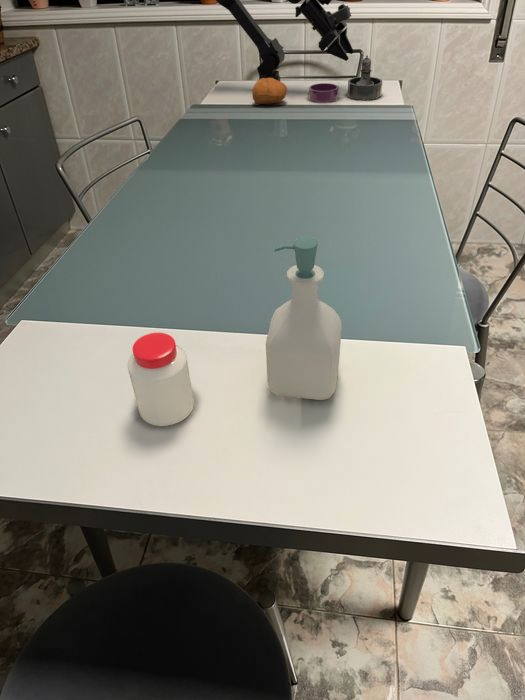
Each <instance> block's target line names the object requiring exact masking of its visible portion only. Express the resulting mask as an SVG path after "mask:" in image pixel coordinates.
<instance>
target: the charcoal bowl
mask: <svg viewBox="0 0 525 700" xmlns="http://www.w3.org/2000/svg"><path fill="white" fill-rule="evenodd" d="M360 79H361V76H355V77H352V78H350V79H348V80H347V90H346V91H347V93H346V94H347V97H349V98H350V99H352V100H357V101H370V100H376V99H378V98H380V97H381V96H382V91H383V80H382V78H379V77H374V76H370V80H371V81H372V82H374V84H373V85H357V84H356V83H357V82H358V81H360Z"/></svg>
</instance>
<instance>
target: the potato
mask: <svg viewBox="0 0 525 700" xmlns="http://www.w3.org/2000/svg"><path fill="white" fill-rule="evenodd" d="M287 94H288V87H287V85H286V84H285V83H284V82H282V81H281V80H280V81H278V80H275V79H273V78H262V79H260V80H259V79H258V80H257V81H256V82H255V83H254V85H253V87H252V91H251V96H252V100H253V102H255V103H256V104H258V105H270V104H277V103H278V104H279V103H281V102H282V101H283V100H284V99H285V98H286V96H287Z"/></svg>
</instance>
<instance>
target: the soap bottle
mask: <svg viewBox="0 0 525 700" xmlns="http://www.w3.org/2000/svg"><path fill="white" fill-rule="evenodd" d="M318 244H319V242H318V240H317V239H316V238H314V237H311V236H301V237H297V238H296V239H295V240H294V241H293V245H292V244H283V245H281V246H277V247H275V248H274V249H273V250H274V252H275V253H276V252H279V251H282V250H294V254H295V256H294V257H295V263H296V265H293V266H291V267H289V268H288V270H287V271H286V280H287V281H288V282H289V283H290V284H291V298H290V300H287V301H286V302H284V303H283V304H281V305H280V306H278V307H277V308H276V309H275V311H274V312H273V315H272V317H271V319H270V322H269V329H268V332H267V335H266V340H265V358H266V377H267V378H266V380H267V385H268V386H269V389H270V392H271V393H272V394H274V395H277V396H279V397H289V398H298V399H305V400H317V401H323V400H329V398H330V397H331V396H333V394H334V393H335V391H336V388H337V383H338V373H339V367H340V359H341V358H340V356H341V342H342V341H341V340H342V326H343V323H342V320H341V317H340V316H339V314H338V313H337V311H336V310H335V309H334V308H332V307H331V306H330V305H328V304H327V303H325V302H324V301H321V300H320V298H319V284H320V283H321V282H322V281H323V280H324V278H325V273H324V270H323V269H322V268H321V267H320V266H318V265H315V263H316V257H317V250H318Z"/></svg>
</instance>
